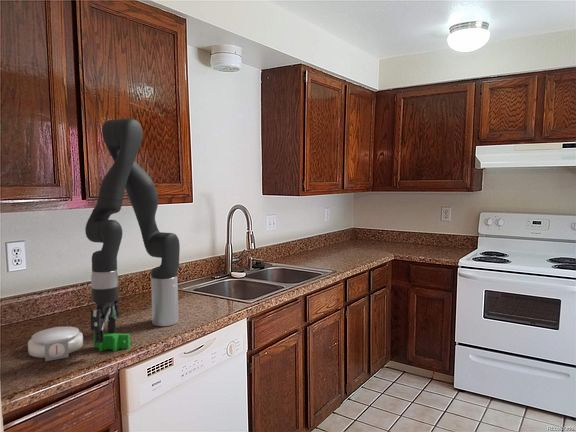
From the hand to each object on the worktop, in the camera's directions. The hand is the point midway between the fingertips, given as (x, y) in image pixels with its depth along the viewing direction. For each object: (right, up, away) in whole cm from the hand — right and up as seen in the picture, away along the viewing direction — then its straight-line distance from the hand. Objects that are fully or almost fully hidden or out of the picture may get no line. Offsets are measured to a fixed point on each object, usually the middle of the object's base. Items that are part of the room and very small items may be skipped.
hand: (105, 337), depth 131 cm
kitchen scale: (-16, -4, +2) cm, 17 cm away
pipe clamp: (0, -5, +2) cm, 5 cm away
